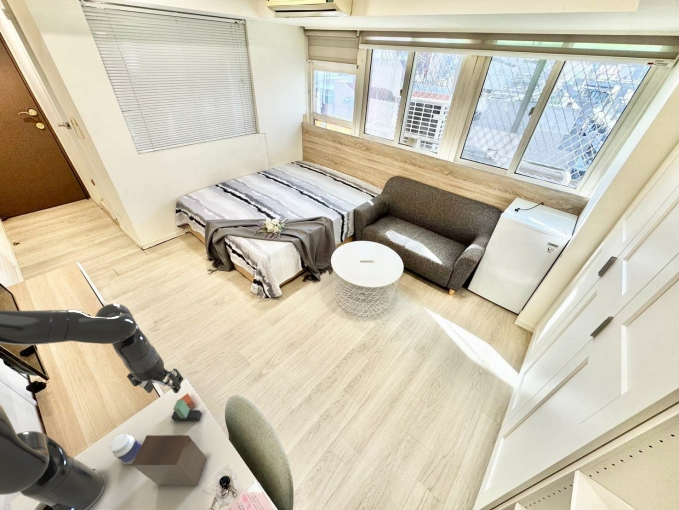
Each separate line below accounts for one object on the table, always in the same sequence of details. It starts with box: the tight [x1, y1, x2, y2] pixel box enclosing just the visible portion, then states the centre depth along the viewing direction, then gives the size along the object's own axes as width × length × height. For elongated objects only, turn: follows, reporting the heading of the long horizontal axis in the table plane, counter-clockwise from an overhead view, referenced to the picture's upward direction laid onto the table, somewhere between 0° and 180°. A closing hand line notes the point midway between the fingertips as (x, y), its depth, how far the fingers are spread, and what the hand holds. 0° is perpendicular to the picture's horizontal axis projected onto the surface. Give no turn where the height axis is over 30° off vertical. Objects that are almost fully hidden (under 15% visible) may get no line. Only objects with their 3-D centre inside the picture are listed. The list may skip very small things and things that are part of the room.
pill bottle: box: [109, 433, 142, 465], centre depth 85 cm, size 6×6×10 cm
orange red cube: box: [178, 392, 196, 410], centre depth 99 cm, size 4×4×4 cm
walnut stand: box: [131, 434, 208, 486], centre depth 79 cm, size 12×7×18 cm, turn 90°
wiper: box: [170, 399, 203, 422], centre depth 94 cm, size 9×3×10 cm, turn 90°
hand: (164, 390), depth 86 cm, fingers open, 8 cm apart
